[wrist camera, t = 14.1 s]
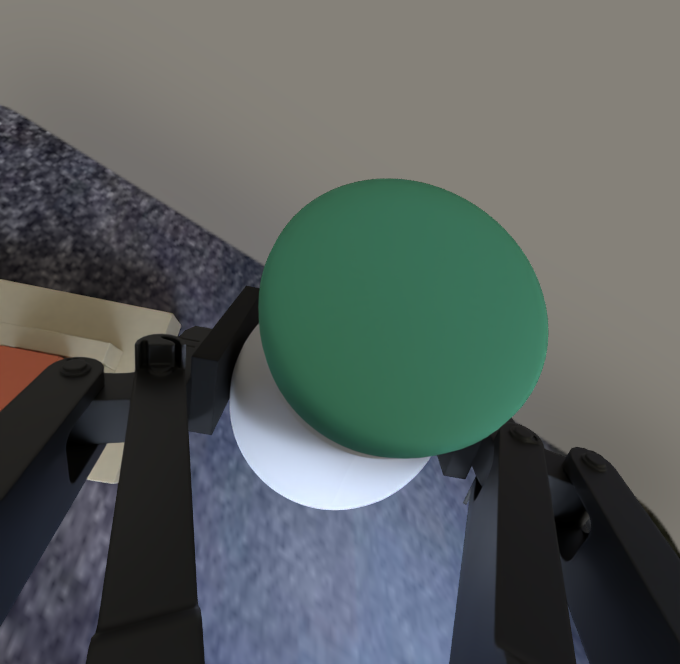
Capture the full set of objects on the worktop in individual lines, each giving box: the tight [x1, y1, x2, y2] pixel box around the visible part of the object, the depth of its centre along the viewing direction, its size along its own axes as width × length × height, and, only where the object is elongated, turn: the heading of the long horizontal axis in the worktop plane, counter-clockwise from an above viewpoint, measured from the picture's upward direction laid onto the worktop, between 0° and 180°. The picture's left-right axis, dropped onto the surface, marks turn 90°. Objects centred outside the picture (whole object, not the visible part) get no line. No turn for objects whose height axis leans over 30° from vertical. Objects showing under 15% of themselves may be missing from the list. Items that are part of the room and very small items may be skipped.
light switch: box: [0, 279, 181, 484], centre depth 21 cm, size 14×10×4 cm
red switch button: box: [0, 345, 64, 411], centre depth 19 cm, size 3×3×2 cm
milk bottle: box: [229, 179, 548, 510], centre depth 15 cm, size 8×8×20 cm
